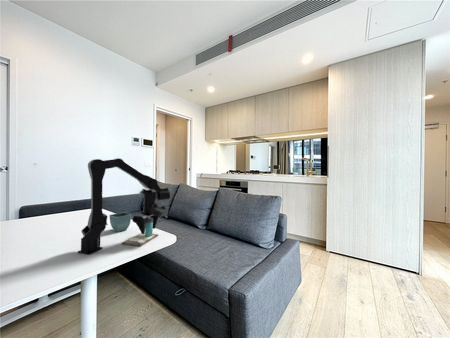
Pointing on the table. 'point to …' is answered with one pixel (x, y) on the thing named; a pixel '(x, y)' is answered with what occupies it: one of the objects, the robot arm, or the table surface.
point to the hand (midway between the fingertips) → (148, 231)
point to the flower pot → (120, 221)
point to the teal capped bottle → (149, 227)
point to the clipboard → (139, 240)
